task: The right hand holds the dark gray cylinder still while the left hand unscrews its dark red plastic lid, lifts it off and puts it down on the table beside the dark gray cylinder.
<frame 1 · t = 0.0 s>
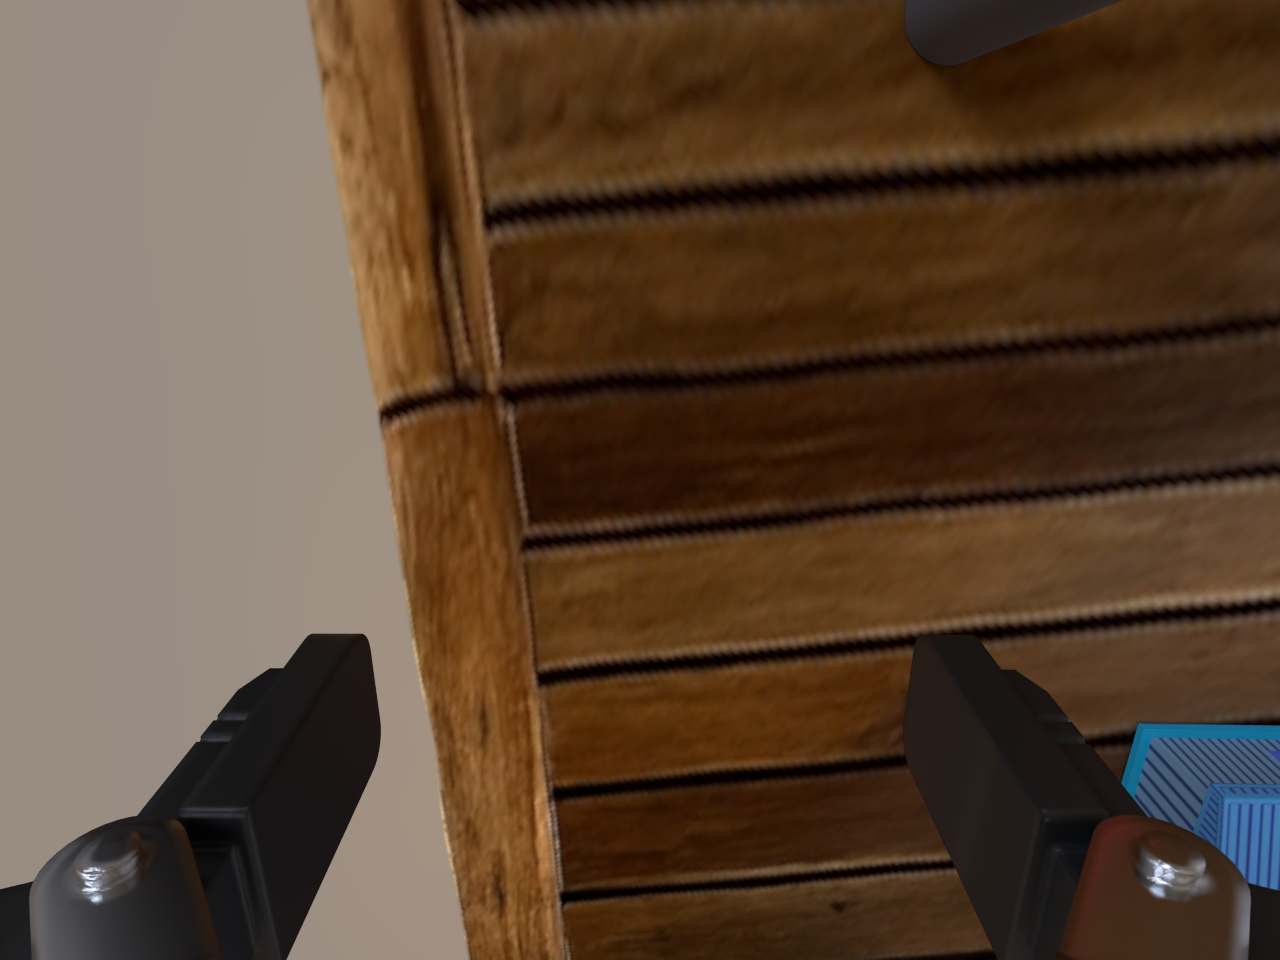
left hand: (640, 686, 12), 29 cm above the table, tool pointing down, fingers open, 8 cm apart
dark gray cylinder: (953, 11, 34), on the table
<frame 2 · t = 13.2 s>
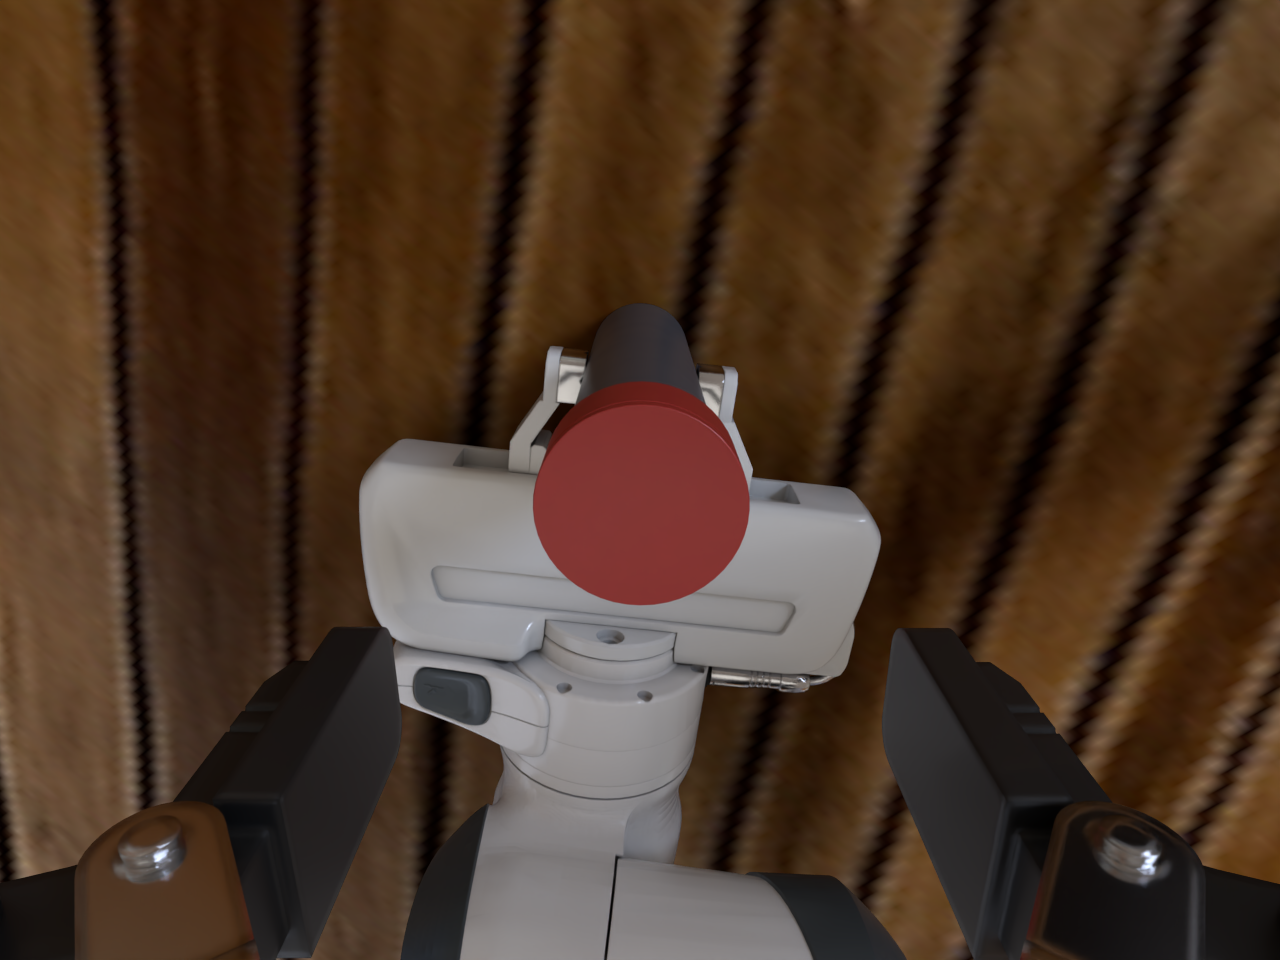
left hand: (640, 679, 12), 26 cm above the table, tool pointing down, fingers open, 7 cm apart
right hand: (642, 358, 30), fingers closed on dark gray cylinder, 4 cm apart
lid: (641, 504, 18), point 19 cm above the table, screwed on, not yet turned
dark gray cylinder: (640, 350, 36), on the table, touching right hand
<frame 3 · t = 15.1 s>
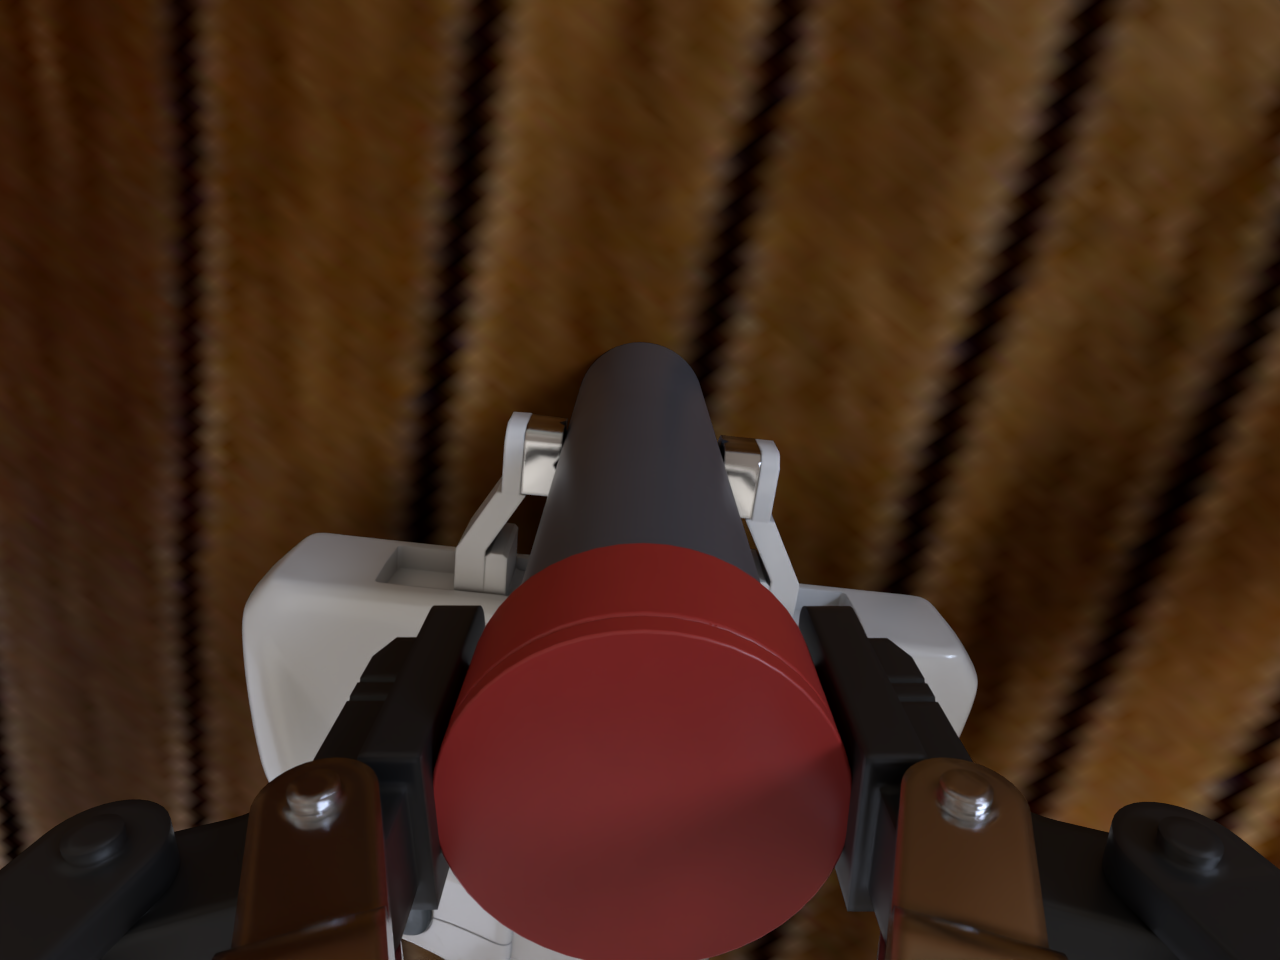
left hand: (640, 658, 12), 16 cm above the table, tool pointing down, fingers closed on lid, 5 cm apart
lid: (642, 793, 10), point 19 cm above the table, screwed on, not yet turned, touching left hand
dark gray cylinder: (640, 403, 27), on the table, touching right hand
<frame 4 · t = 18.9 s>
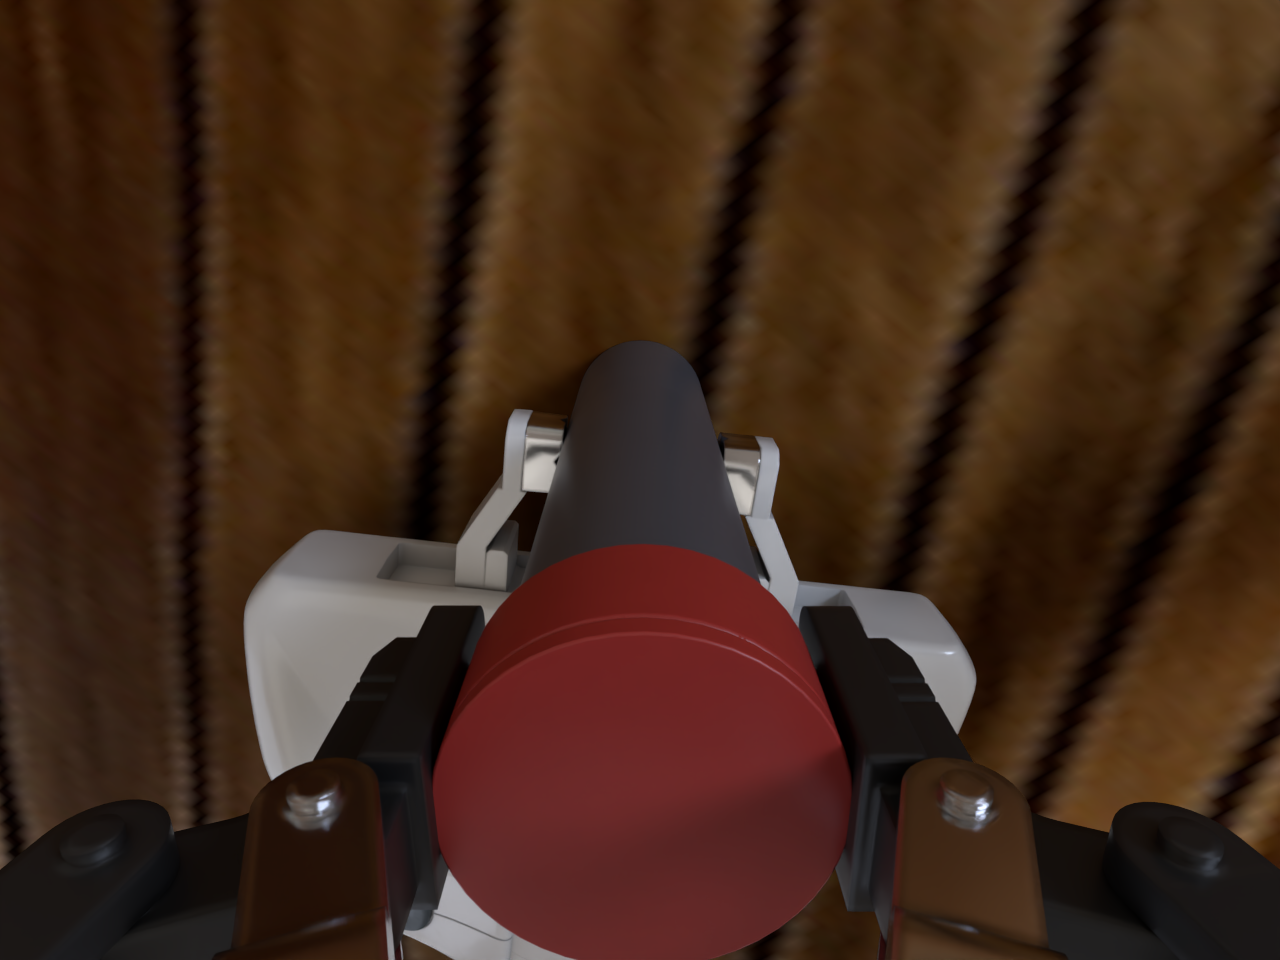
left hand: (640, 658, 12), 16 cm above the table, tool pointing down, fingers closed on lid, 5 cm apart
lid: (641, 795, 10), point 19 cm above the table, turned 89° so far, risen 0.1 cm, still on its thread, touching left hand
dark gray cylinder: (640, 401, 27), on the table, touching right hand
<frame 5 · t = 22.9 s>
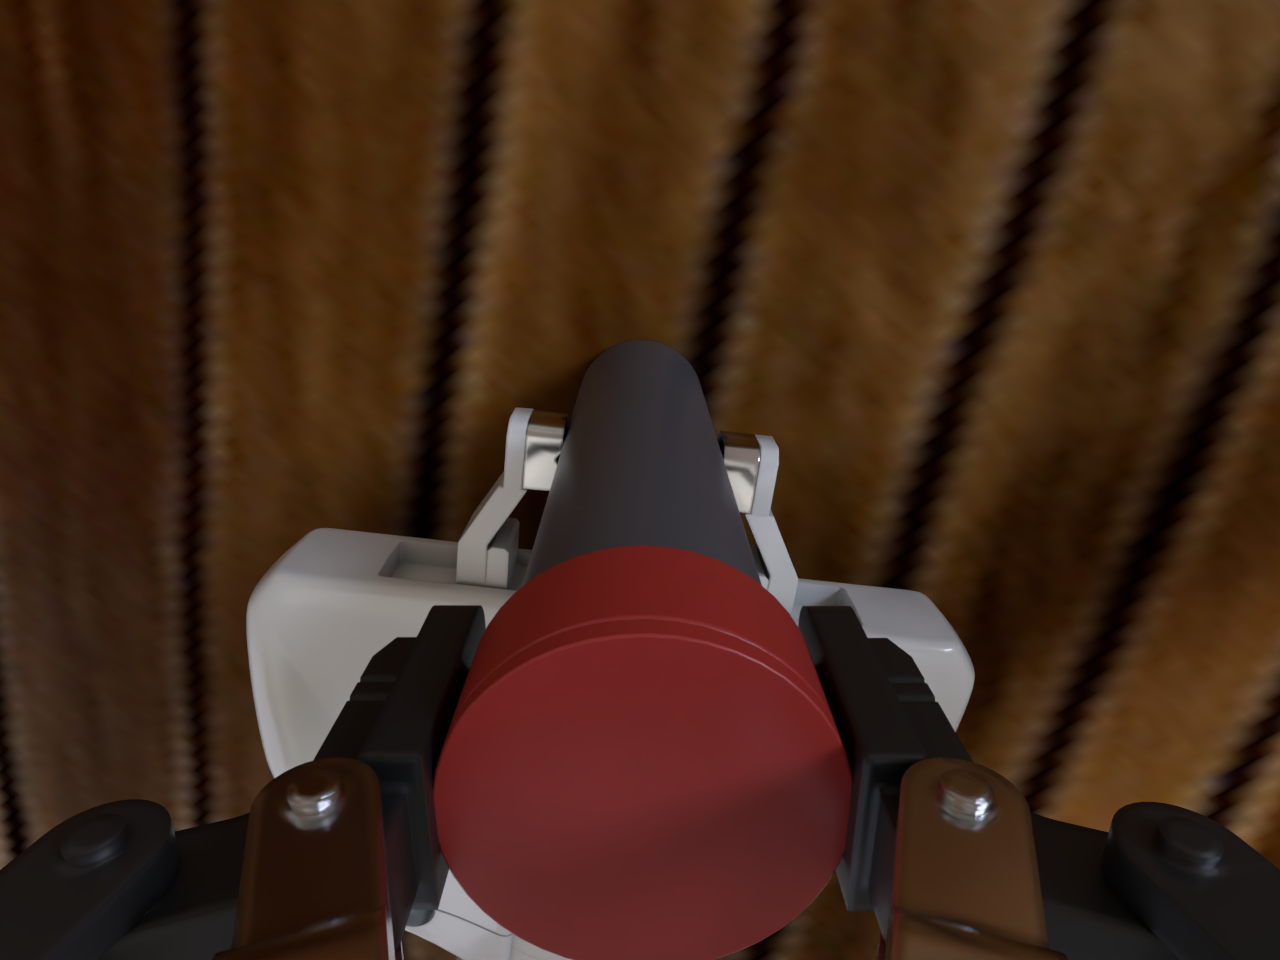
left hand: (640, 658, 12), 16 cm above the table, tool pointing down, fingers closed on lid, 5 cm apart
lid: (643, 796, 10), point 19 cm above the table, turned 179° so far, risen 0.3 cm, still on its thread, touching left hand
dark gray cylinder: (640, 400, 27), on the table, touching right hand
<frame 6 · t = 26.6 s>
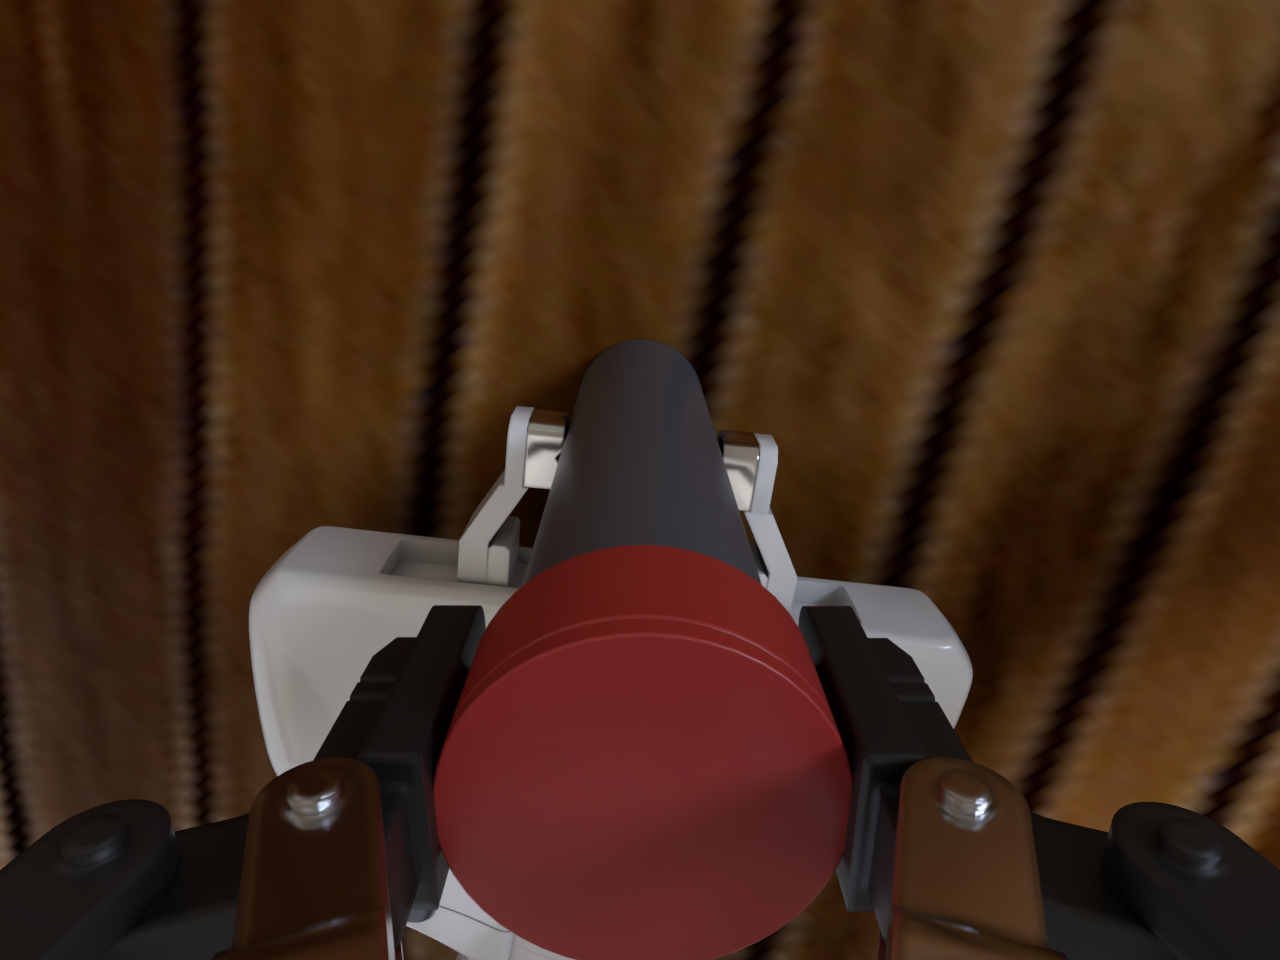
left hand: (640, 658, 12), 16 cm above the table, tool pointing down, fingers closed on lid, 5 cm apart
lid: (643, 796, 10), point 19 cm above the table, turned 269° so far, risen 0.4 cm, still on its thread, touching left hand
dark gray cylinder: (640, 400, 27), on the table, touching right hand
when the left hand's fingers open (1 cm above the table, at t = 41.6 s): lid drops 2 cm, point 2 cm above the table.
when the right hand's fingers open (6 cm above the table, at t = 42.6 s): dark gray cylinder stays where it is, on the table.
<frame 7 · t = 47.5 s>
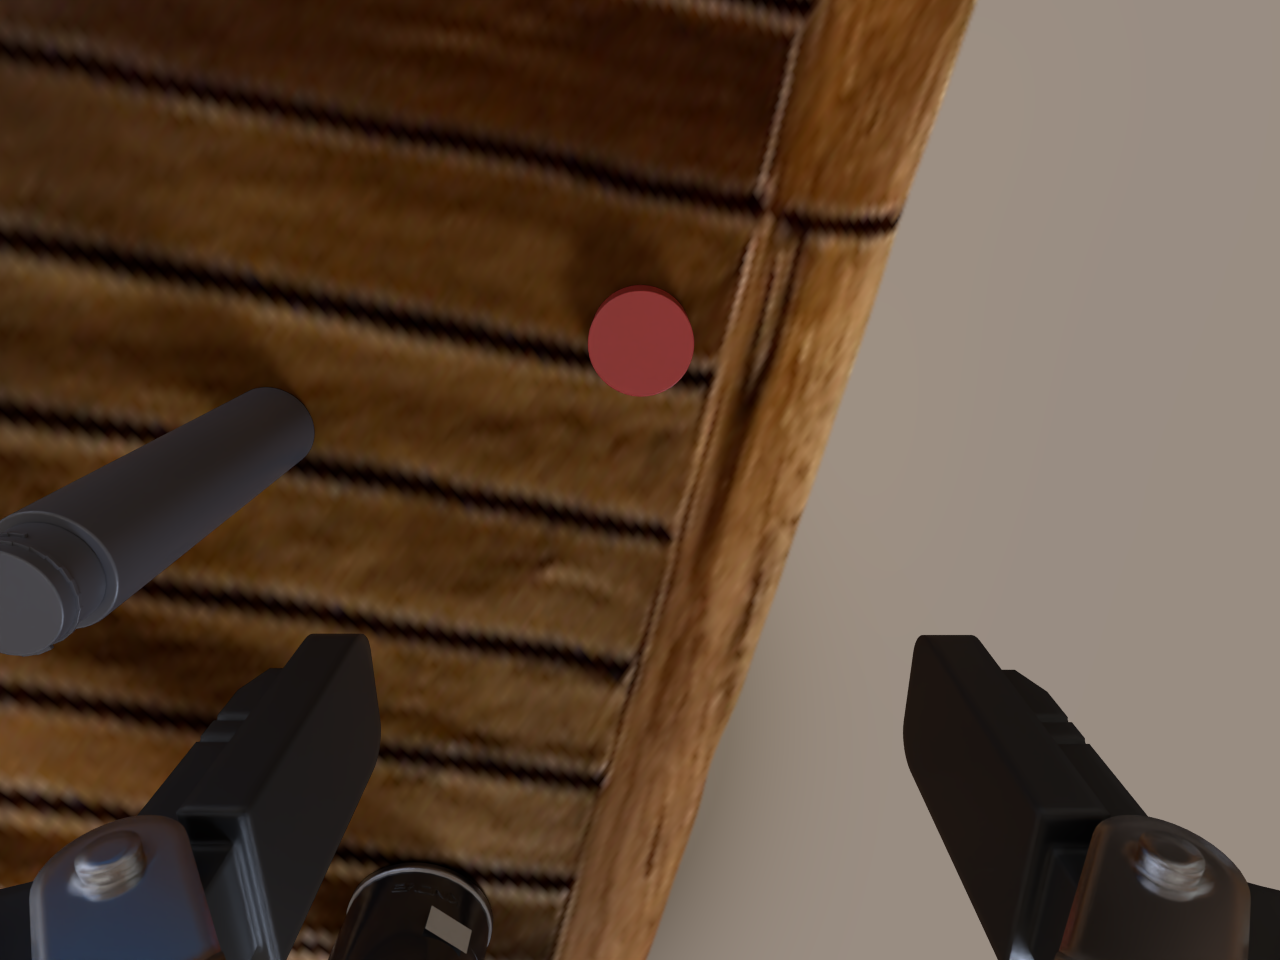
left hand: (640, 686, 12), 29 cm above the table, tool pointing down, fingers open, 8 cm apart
lid: (640, 343, 37), point 2 cm above the table, off its thread
dark gray cylinder: (273, 427, 41), on the table
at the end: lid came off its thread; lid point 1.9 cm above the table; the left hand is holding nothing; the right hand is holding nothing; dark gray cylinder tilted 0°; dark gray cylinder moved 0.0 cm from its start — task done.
